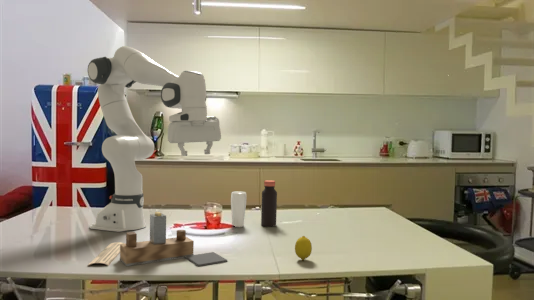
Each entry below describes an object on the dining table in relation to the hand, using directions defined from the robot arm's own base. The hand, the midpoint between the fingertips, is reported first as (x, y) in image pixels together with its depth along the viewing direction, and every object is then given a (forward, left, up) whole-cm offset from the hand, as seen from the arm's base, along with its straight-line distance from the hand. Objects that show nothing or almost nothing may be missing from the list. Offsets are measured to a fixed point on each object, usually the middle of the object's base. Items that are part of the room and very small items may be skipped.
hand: (196, 155), depth 151 cm
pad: (+8, -15, -33) cm, 37 cm away
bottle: (+22, +40, -33) cm, 56 cm away
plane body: (-8, -16, -33) cm, 37 cm away
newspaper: (-25, -16, -34) cm, 45 cm away
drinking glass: (+9, +35, -33) cm, 49 cm away
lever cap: (-8, -16, -28) cm, 33 cm away
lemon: (+39, -9, -33) cm, 52 cm away
